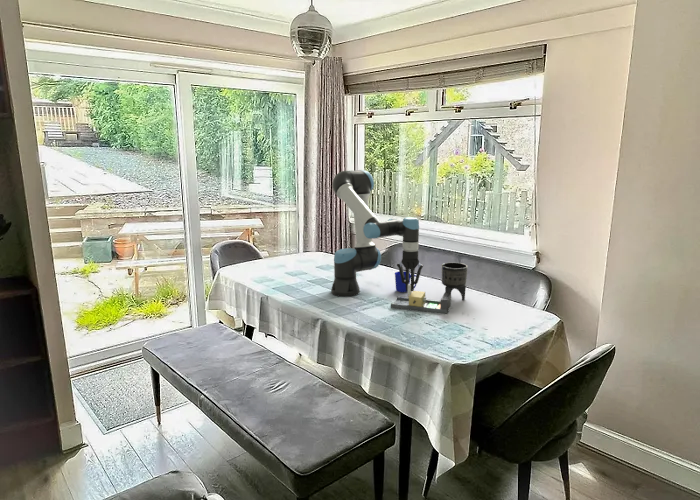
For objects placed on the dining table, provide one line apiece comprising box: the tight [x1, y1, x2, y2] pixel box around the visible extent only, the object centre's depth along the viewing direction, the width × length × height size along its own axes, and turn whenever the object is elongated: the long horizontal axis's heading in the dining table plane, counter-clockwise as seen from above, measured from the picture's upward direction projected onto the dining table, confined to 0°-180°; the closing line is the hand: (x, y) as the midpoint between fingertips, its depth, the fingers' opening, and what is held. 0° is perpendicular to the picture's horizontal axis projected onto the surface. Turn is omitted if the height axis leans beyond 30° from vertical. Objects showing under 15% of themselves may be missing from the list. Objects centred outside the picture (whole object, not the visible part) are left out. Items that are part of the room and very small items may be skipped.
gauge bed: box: [390, 296, 452, 315], centre depth 231 cm, size 27×12×2 cm, turn 70°
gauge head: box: [409, 290, 427, 307], centre depth 229 cm, size 7×12×5 cm, turn 160°
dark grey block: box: [440, 291, 452, 312], centre depth 226 cm, size 3×12×6 cm, turn 160°
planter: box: [441, 261, 469, 301], centre depth 241 cm, size 13×13×18 cm
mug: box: [394, 270, 417, 293], centre depth 255 cm, size 8×12×10 cm
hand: (409, 297), depth 232 cm, fingers closed
